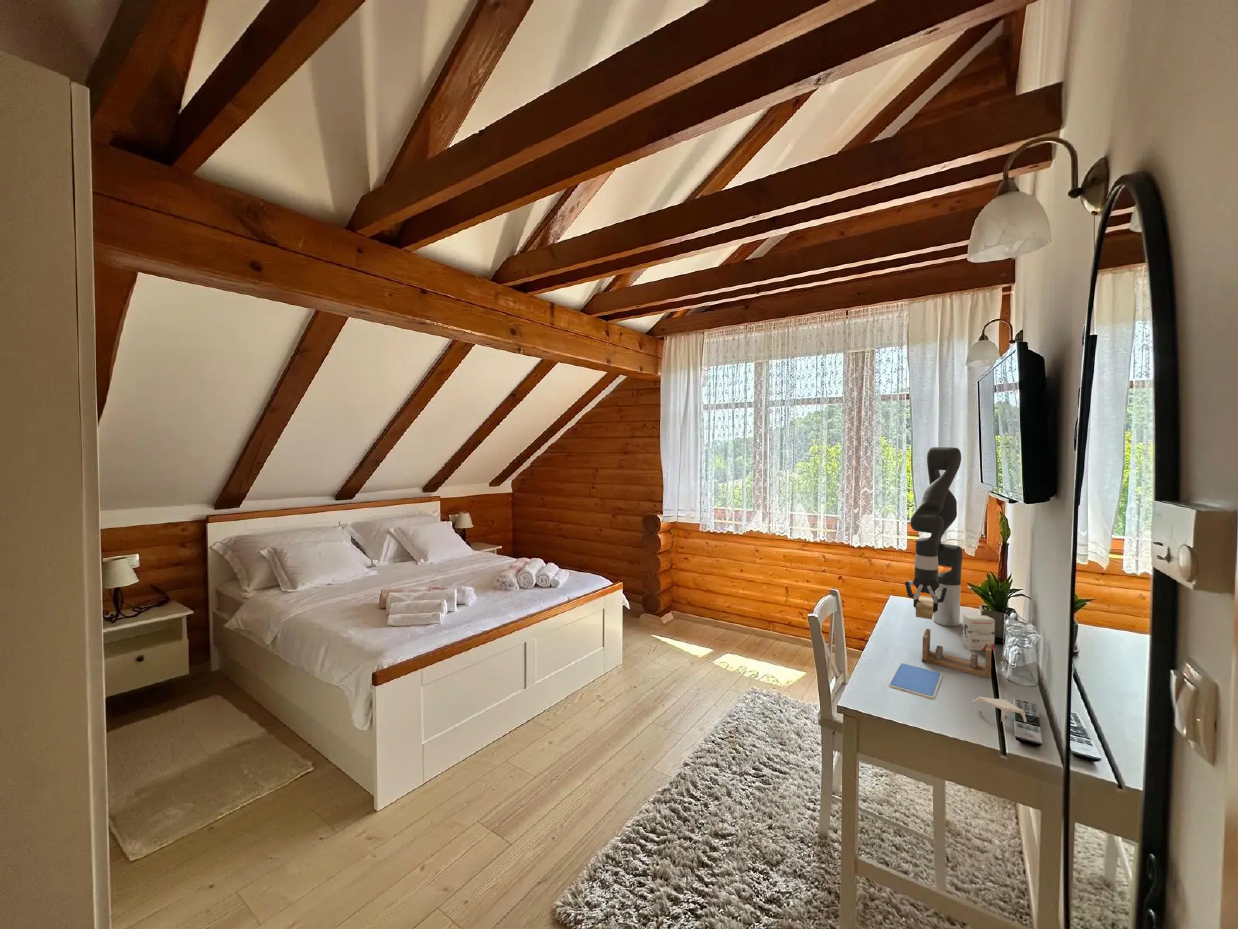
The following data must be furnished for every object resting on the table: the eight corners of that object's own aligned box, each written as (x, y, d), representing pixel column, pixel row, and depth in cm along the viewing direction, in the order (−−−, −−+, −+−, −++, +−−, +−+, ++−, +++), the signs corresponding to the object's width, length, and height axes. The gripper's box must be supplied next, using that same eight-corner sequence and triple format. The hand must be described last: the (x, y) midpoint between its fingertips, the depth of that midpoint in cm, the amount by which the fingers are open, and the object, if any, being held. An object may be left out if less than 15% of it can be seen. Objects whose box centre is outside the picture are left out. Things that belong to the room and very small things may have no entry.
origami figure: (1023, 718, 138) (1024, 701, 138) (1027, 733, 131) (1027, 715, 131) (970, 705, 145) (971, 689, 144) (971, 719, 138) (972, 702, 137)
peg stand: (925, 652, 179) (926, 628, 179) (991, 667, 167) (991, 642, 167) (922, 661, 172) (922, 636, 172) (989, 678, 160) (990, 651, 160)
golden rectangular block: (919, 605, 193) (920, 595, 193) (934, 607, 190) (935, 597, 190) (915, 616, 182) (915, 606, 182) (931, 619, 179) (931, 609, 179)
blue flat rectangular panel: (934, 701, 148) (934, 697, 148) (887, 688, 156) (887, 684, 156) (942, 676, 163) (943, 673, 163) (899, 665, 171) (899, 662, 171)
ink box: (986, 645, 185) (987, 614, 184) (994, 651, 180) (995, 619, 179) (961, 644, 186) (962, 614, 185) (969, 650, 181) (970, 619, 180)
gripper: (950, 567, 183) (949, 611, 185) (906, 561, 192) (905, 603, 194) (947, 571, 178) (946, 617, 179) (902, 565, 187) (902, 609, 188)
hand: (925, 610), depth 186 cm, fingers closed on golden rectangular block, 5 cm apart
